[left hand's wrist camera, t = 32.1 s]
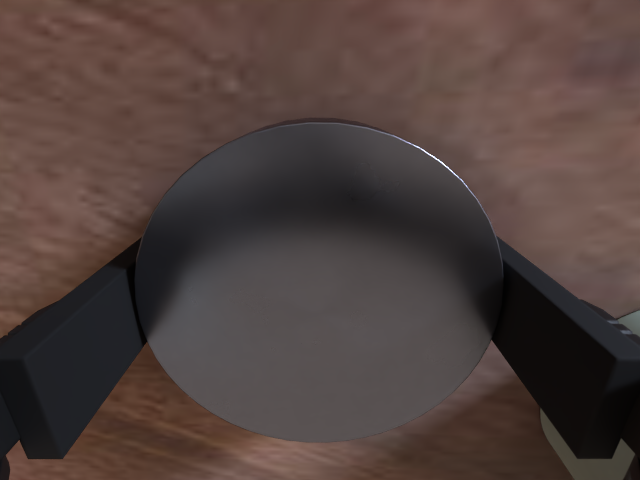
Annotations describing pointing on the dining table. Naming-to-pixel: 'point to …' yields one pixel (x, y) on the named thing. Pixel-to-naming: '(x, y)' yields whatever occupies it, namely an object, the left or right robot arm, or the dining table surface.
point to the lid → (319, 281)
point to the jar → (594, 474)
